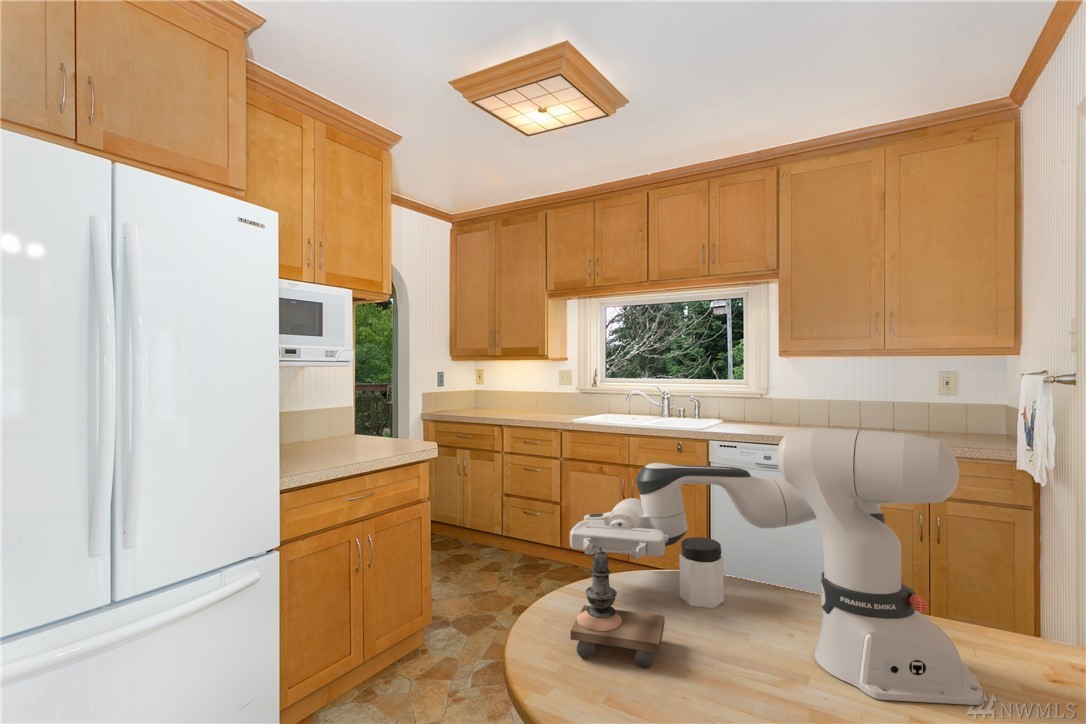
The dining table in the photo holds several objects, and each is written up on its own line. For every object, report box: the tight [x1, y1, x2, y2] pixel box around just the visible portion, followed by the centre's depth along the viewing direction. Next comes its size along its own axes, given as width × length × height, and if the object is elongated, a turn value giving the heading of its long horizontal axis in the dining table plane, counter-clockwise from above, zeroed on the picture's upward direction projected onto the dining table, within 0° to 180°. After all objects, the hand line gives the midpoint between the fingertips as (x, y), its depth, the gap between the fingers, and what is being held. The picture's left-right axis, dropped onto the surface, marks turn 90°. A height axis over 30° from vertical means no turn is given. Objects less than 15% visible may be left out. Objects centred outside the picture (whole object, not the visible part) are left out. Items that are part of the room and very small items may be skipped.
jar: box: [678, 536, 725, 609], centre depth 113 cm, size 9×8×12 cm
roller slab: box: [570, 604, 665, 670], centre depth 95 cm, size 15×10×5 cm, turn 72°
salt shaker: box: [584, 547, 618, 618], centre depth 99 cm, size 6×6×12 cm
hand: (610, 552), depth 107 cm, fingers open, 8 cm apart
